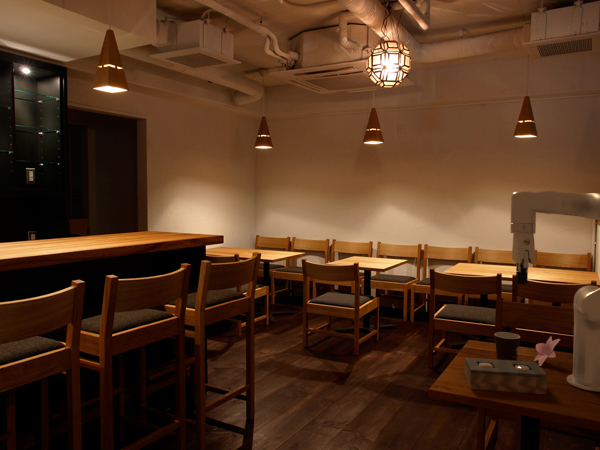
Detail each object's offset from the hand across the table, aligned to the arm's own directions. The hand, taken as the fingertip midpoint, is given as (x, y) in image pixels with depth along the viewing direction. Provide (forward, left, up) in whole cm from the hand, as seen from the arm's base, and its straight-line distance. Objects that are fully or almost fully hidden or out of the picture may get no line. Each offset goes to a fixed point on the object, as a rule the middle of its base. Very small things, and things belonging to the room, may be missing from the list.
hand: (521, 283), depth 159 cm
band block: (+7, +9, -31) cm, 33 cm away
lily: (-13, -15, -31) cm, 37 cm away
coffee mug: (0, -14, -31) cm, 34 cm away
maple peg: (+12, +9, -31) cm, 35 cm away
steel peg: (+2, +9, -31) cm, 33 cm away
